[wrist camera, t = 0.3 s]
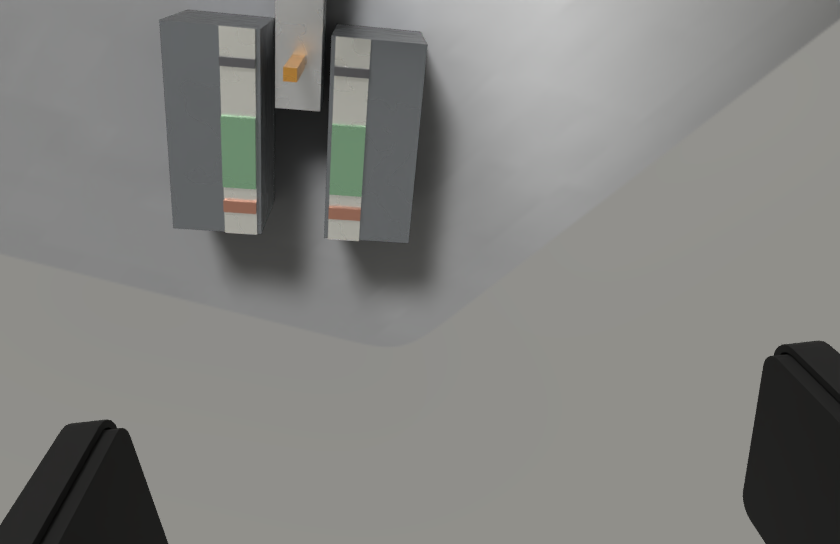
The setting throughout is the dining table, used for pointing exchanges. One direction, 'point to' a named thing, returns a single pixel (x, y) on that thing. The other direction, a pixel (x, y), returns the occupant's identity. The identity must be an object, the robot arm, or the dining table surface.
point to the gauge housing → (254, 125)
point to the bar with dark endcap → (299, 54)
